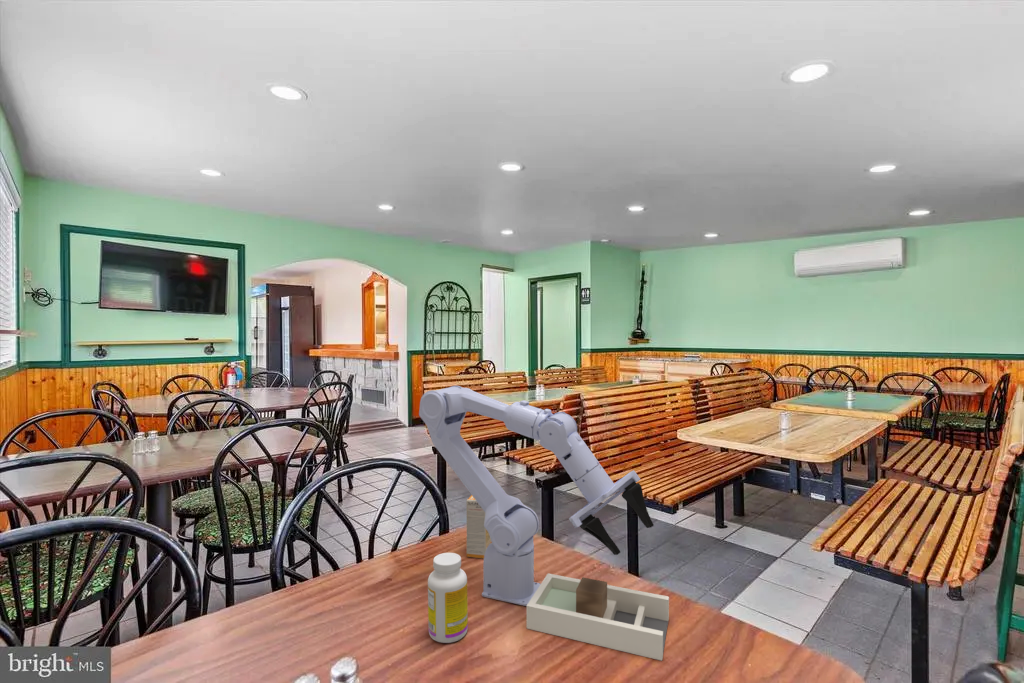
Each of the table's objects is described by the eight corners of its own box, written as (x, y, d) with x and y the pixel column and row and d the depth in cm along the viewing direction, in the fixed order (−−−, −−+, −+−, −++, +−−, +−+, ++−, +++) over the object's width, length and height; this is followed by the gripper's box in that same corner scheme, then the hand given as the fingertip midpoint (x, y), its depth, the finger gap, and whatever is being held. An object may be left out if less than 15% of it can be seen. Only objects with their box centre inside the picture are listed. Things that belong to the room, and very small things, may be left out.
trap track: (526, 628, 87) (526, 605, 87) (547, 593, 99) (547, 573, 98) (662, 660, 79) (662, 635, 79) (668, 618, 90) (668, 596, 90)
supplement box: (486, 559, 113) (486, 501, 112) (465, 557, 114) (465, 499, 113) (495, 543, 121) (495, 489, 120) (475, 541, 122) (475, 487, 121)
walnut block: (575, 614, 88) (576, 589, 88) (582, 601, 92) (582, 577, 92) (601, 620, 86) (601, 594, 86) (607, 606, 90) (607, 581, 90)
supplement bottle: (473, 625, 88) (473, 553, 88) (457, 648, 82) (457, 570, 82) (439, 618, 91) (438, 547, 90) (421, 640, 84) (420, 564, 84)
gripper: (559, 493, 85) (608, 566, 82) (624, 446, 90) (673, 513, 86) (551, 497, 92) (597, 565, 88) (612, 453, 96) (658, 516, 93)
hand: (634, 539), depth 88 cm, fingers open, 7 cm apart
